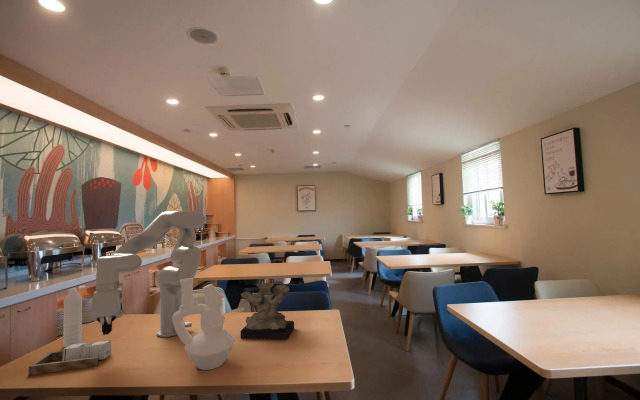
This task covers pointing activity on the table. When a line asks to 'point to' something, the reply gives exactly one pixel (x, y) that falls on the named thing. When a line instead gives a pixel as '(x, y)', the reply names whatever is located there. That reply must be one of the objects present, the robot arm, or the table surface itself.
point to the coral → (267, 314)
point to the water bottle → (72, 318)
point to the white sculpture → (203, 327)
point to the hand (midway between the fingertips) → (106, 333)
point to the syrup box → (87, 350)
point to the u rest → (59, 363)
